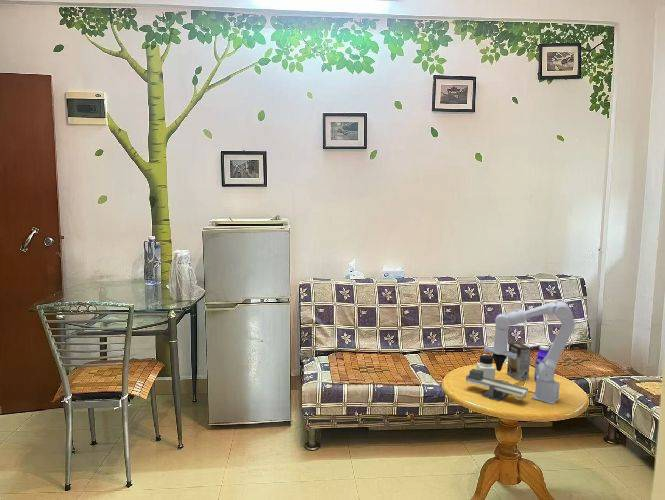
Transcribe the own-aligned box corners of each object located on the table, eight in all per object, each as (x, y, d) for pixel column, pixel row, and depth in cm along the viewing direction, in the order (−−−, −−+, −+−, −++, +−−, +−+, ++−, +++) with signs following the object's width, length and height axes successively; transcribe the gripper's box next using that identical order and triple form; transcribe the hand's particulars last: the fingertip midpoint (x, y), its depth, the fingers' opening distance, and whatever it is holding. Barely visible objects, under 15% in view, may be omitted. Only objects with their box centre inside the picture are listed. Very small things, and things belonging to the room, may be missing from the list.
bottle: (531, 379, 258) (534, 344, 256) (540, 378, 260) (543, 343, 258) (542, 384, 251) (545, 349, 249) (551, 383, 253) (554, 348, 251)
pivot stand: (508, 394, 239) (509, 382, 238) (499, 401, 231) (500, 389, 230) (491, 389, 244) (492, 378, 243) (482, 396, 236) (482, 384, 236)
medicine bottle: (494, 382, 253) (496, 358, 251) (479, 382, 253) (481, 357, 251) (490, 377, 260) (492, 353, 258) (475, 376, 260) (477, 352, 258)
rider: (483, 379, 243) (483, 371, 242) (479, 382, 240) (480, 373, 239) (472, 377, 246) (473, 368, 245) (469, 379, 243) (469, 371, 242)
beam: (527, 396, 231) (528, 386, 231) (521, 401, 226) (522, 390, 226) (472, 381, 248) (472, 371, 248) (465, 385, 243) (466, 375, 242)
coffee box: (506, 374, 265) (508, 342, 262) (517, 372, 266) (519, 341, 264) (517, 380, 256) (520, 348, 254) (529, 379, 258) (531, 347, 256)
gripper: (481, 339, 240) (480, 368, 241) (513, 346, 230) (510, 376, 232) (488, 336, 245) (486, 364, 247) (519, 343, 236) (517, 372, 237)
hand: (498, 370), depth 240 cm, fingers closed
